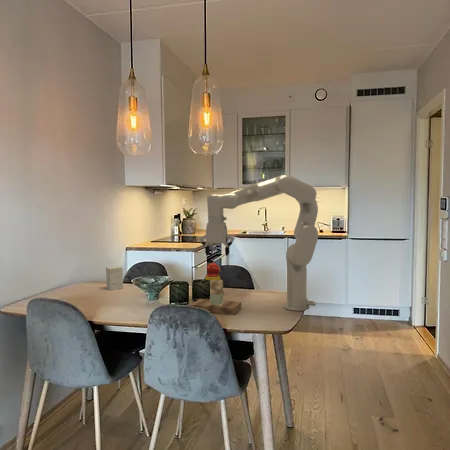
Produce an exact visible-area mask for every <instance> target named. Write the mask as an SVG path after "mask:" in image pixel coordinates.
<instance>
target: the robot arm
mask: <svg viewBox="0 0 450 450" xmlns="http://www.w3.org/2000/svg"><path fill="white" fill-rule="evenodd" d="M282 194H286V195H288V196H289V197H291V198H294V199H295V200H296V202H297V203H298V204H299V214H298V218H297V221H296V224H295V227H294V230H293V235H294V238H295V239H296V240H295V243H292V244H290V245H289V246H288V247H287V249H286V252H285V260H286V302H285V303H284V304H283V308H284V309H286V310H289V311H293V312H294V311H295V312H297V311H298V312H304V311H307V310H309V309H310V306H311V307H312V306H313V307H315V306H316V301H314V300H309V298H308V297H307V277H308V276H307V272H308V271H307V265H308V264H310V262H311V261H312V258H313V256H314V252H315V249H316V246H317V244H318V243H317V242H318V238H319V232H318V229H317V227H316V226H315V225H316V221H317V217H318V211H319V205H318V202H317V200H316V197H317V190H316V189H315V187H314V186H312V185H310V184H309V183H306V182H304V181H302V180H300V179H297V178H296V177H294V176H292V175H289V174H281V175H278V176H275V177H272V178H268V179H266V180H263V181H260V182H256V183H253V184H251V185H249V186H247V187H244V188H240V189H237V190H235V191H232V192H227V193H212V194H210V193H209V194H208V195H207V198H206V200H207V201H206V202H207V204H206V205H207V223H206V227H205V228H206V229H205V235H203V236H201V237H200V238H199V241H200V243H201V245H203V247H204V252H205V255H206V257H208V256H209V255H210V254H211V253H210V252H211V251H210V244H211V245H212V244H223V245H224V246H225V247H224V253H225V254H224V255H225V257H228V256H229V254H230V247H231V246H232V244H233V243H234V241H235V237H234V236H233V235H230V234H229V233H228V228H227V227H228V226H227V223H226V222H225V221H227V217H225V216H224V209H229V210H233V209H236V208H237V207H239V206H242V205H245V204H248V203H253V202H259V201H264V200H266V199H269V198H272V197H276V196H279V195H282ZM204 239H205V241H204ZM228 241H229V242H228Z"/></svg>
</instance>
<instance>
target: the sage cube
mask: <svg viewBox="0 0 450 450" xmlns="http://www.w3.org/2000/svg"><path fill="white" fill-rule="evenodd" d="M209 300H210V304H213V305H221V304H222V303H223V301H224V293H221V294H220V295H215V294H210V296H209Z"/></svg>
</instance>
